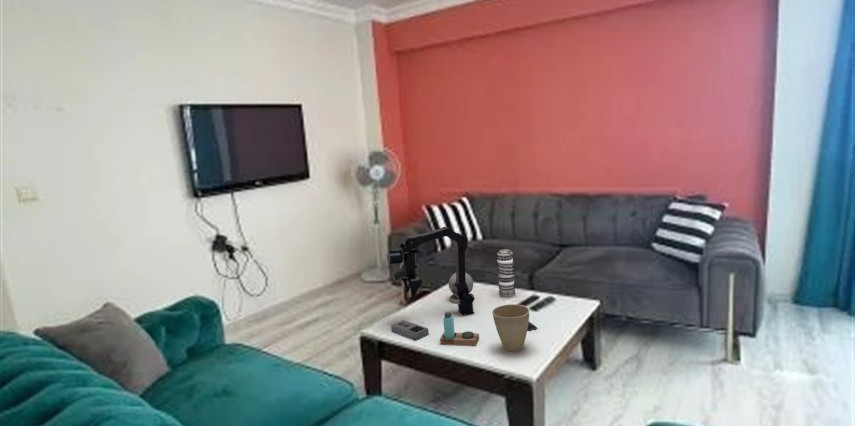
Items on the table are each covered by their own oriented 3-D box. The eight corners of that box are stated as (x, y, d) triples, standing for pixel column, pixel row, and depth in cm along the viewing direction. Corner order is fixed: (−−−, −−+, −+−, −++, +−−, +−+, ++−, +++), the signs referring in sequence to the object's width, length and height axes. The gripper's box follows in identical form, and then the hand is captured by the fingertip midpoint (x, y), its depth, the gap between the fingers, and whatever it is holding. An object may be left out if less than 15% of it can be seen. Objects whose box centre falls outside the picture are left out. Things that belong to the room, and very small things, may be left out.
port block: (404, 326, 240) (403, 319, 240) (428, 334, 228) (428, 328, 227) (391, 331, 235) (391, 324, 235) (416, 340, 223) (415, 333, 222)
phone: (521, 331, 221) (506, 319, 235) (521, 333, 221) (507, 321, 235) (538, 327, 223) (522, 316, 237) (538, 330, 223) (522, 318, 238)
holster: (444, 337, 223) (443, 329, 223) (479, 338, 219) (478, 330, 218) (440, 344, 217) (439, 336, 216) (476, 346, 212) (475, 337, 212)
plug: (447, 339, 221) (444, 311, 219) (455, 339, 220) (452, 311, 218) (445, 342, 218) (442, 314, 216) (453, 343, 217) (450, 314, 215)
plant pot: (523, 337, 216) (521, 302, 213) (537, 352, 202) (535, 314, 199) (490, 343, 214) (487, 307, 211) (501, 358, 199) (498, 320, 197)
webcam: (475, 295, 274) (474, 268, 271) (472, 303, 261) (470, 275, 259) (452, 295, 277) (450, 268, 274) (447, 303, 264) (445, 276, 262)
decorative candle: (494, 297, 268) (491, 251, 263) (506, 292, 274) (503, 247, 269) (508, 300, 261) (505, 253, 257) (519, 295, 267) (517, 249, 263)
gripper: (387, 259, 243) (388, 291, 245) (398, 269, 226) (398, 302, 228) (410, 257, 247) (410, 289, 249) (422, 266, 229) (422, 300, 231)
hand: (409, 295), depth 239 cm, fingers open, 9 cm apart
